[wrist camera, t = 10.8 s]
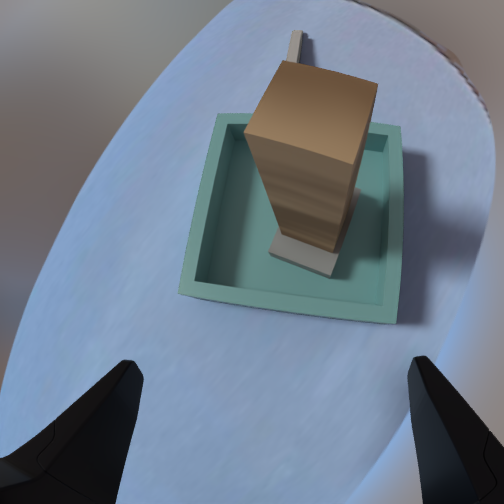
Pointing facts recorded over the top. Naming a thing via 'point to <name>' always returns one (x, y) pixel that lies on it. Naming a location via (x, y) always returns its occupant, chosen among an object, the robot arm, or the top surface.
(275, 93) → the tall tan wooden block
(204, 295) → the tray
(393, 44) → the top surface
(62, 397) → the top surface
